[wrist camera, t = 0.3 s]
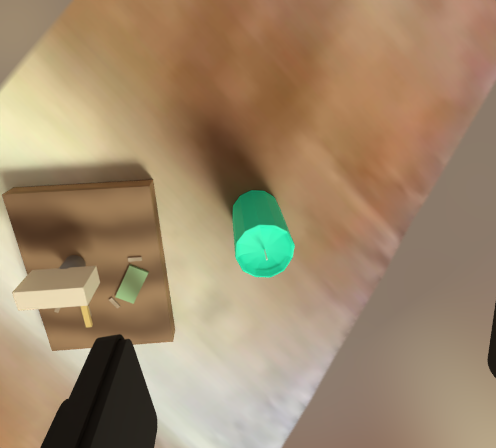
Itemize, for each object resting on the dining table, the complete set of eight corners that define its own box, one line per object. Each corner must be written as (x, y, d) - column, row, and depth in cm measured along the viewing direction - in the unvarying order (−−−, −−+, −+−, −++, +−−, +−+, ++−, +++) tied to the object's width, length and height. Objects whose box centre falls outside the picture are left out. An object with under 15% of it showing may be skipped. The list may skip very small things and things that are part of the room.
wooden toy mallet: (42, 257, 44) (11, 291, 38) (103, 253, 45) (82, 286, 38) (62, 325, 48) (38, 367, 42) (118, 321, 49) (102, 362, 42)
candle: (253, 242, 49) (263, 296, 38) (221, 211, 47) (222, 258, 36) (289, 213, 47) (310, 260, 36) (258, 179, 45) (270, 218, 34)
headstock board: (13, 187, 44) (0, 195, 41) (153, 179, 44) (148, 186, 42) (59, 338, 52) (51, 352, 50) (175, 329, 53) (172, 343, 51)
